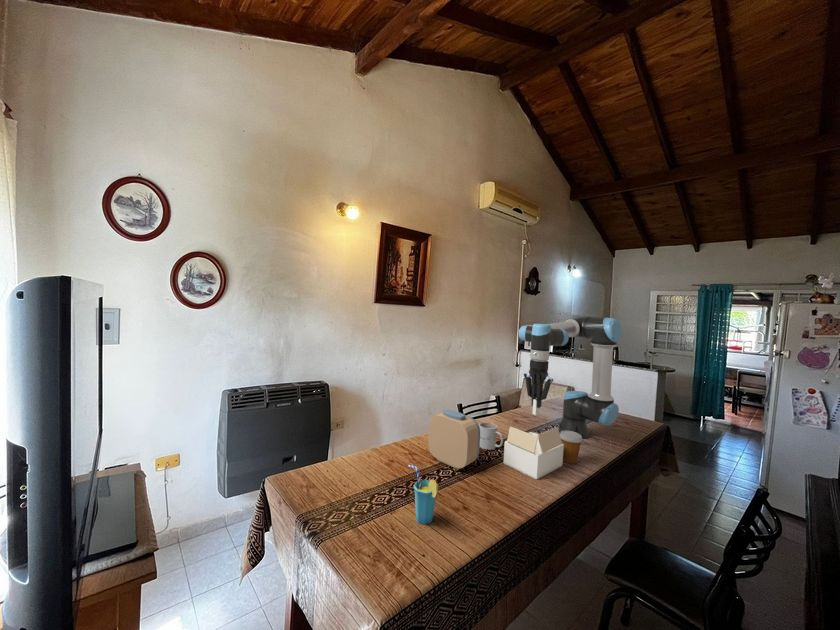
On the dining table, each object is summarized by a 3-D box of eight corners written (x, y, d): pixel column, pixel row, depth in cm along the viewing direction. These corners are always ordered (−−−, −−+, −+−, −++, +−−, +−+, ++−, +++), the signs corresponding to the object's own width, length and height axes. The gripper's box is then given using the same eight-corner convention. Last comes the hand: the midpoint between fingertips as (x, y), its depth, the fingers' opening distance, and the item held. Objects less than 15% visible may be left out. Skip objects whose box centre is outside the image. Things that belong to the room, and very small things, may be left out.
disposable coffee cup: (583, 466, 144) (585, 439, 144) (560, 463, 146) (561, 436, 146) (577, 457, 154) (579, 431, 153) (555, 454, 155) (557, 429, 155)
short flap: (510, 426, 143) (510, 426, 143) (537, 436, 133) (537, 436, 133) (507, 441, 142) (506, 441, 142) (534, 453, 132) (534, 453, 132)
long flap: (556, 427, 144) (557, 427, 143) (561, 444, 142) (562, 444, 142) (537, 434, 134) (538, 434, 134) (541, 453, 133) (542, 453, 132)
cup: (398, 512, 107) (400, 466, 107) (415, 502, 113) (417, 459, 112) (430, 534, 97) (432, 484, 97) (447, 523, 103) (449, 475, 102)
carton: (529, 451, 157) (530, 430, 157) (563, 465, 144) (564, 443, 144) (502, 462, 144) (503, 440, 144) (536, 479, 132) (538, 455, 131)
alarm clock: (479, 467, 139) (481, 416, 138) (465, 475, 132) (468, 422, 131) (441, 450, 153) (443, 404, 152) (427, 457, 146) (429, 408, 145)
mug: (474, 444, 162) (475, 424, 162) (485, 440, 167) (486, 421, 167) (494, 454, 152) (495, 432, 152) (505, 449, 158) (507, 429, 157)
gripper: (521, 358, 145) (517, 411, 146) (548, 363, 135) (544, 420, 136) (530, 357, 150) (527, 408, 150) (558, 361, 140) (554, 417, 140)
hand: (535, 414), depth 143 cm, fingers closed
